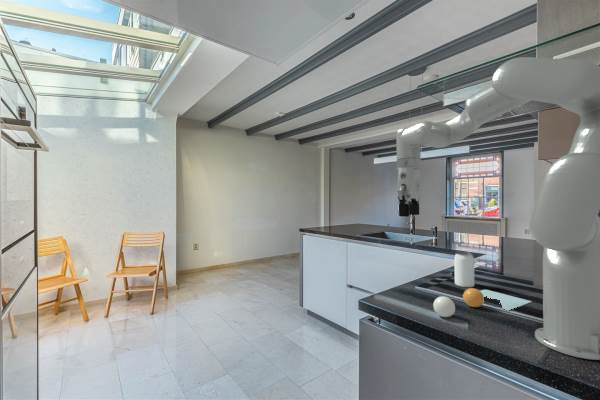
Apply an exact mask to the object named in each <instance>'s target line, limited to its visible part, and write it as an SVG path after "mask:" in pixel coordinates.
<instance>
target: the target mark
mask: <svg viewBox="0 0 600 400" xmlns="http://www.w3.org/2000/svg"><path fill="white" fill-rule="evenodd" d="M479 291H480V292H481V293H482V294H483V296H484V297H486V296H487V298H489V299H490V298H491V299H497V300H500V303H501V305H502V308H503V309H505V310H504V311H506V310H507V311H506V312H510V311H512V310H515V309H517V307H518V308H521V307H523V306H525V305H527V304H530V303H532V302H533V301H531V300H528V299H524V298H520V297H516V296H512V295H509V294H505V293H501V292H497V291H492V290H490V289H481V290H479ZM500 303H499V304H500ZM514 308H515V309H514ZM503 309H502V310H503ZM511 309H512V310H511ZM509 310H510V311H509Z"/></svg>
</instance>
